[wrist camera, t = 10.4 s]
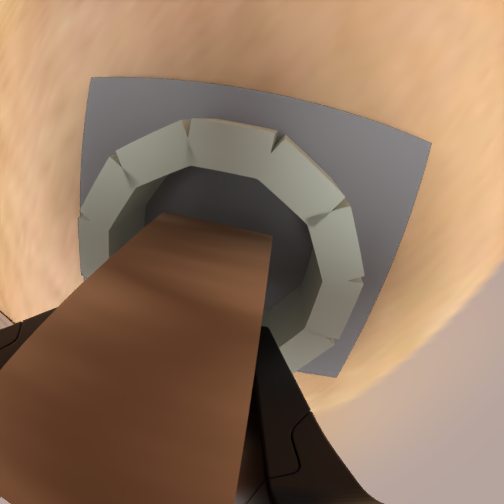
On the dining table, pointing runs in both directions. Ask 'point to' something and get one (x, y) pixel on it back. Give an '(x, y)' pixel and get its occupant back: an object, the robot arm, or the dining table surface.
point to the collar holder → (256, 194)
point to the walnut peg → (141, 374)
